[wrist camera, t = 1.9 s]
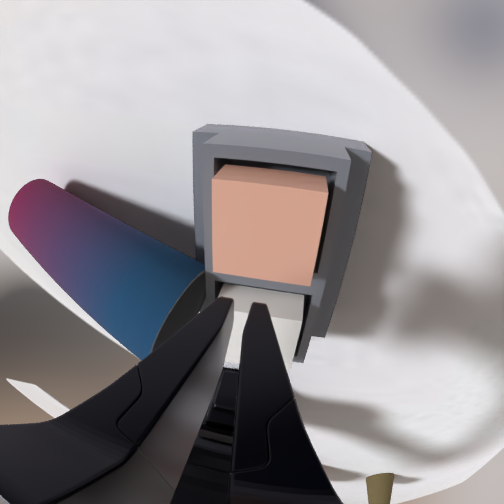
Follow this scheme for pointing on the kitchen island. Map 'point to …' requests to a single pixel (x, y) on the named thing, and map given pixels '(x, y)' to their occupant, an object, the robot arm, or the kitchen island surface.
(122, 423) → the robot arm
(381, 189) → the kitchen island surface
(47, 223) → the cup
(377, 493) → the olive game pawn
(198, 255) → the key base
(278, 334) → the off-white key
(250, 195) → the terracotta key
